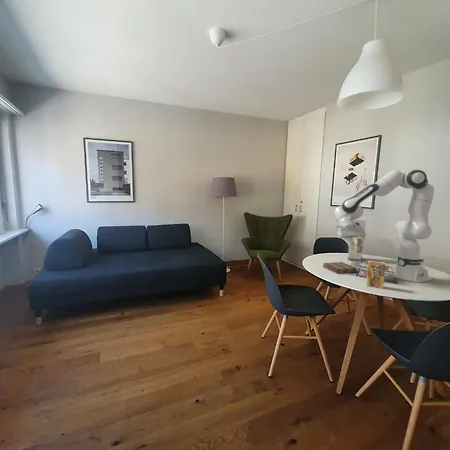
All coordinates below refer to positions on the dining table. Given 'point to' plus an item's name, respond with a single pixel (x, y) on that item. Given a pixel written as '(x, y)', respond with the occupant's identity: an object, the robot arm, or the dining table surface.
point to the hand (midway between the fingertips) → (356, 242)
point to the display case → (351, 255)
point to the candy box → (375, 274)
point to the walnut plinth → (339, 267)
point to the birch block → (357, 245)
